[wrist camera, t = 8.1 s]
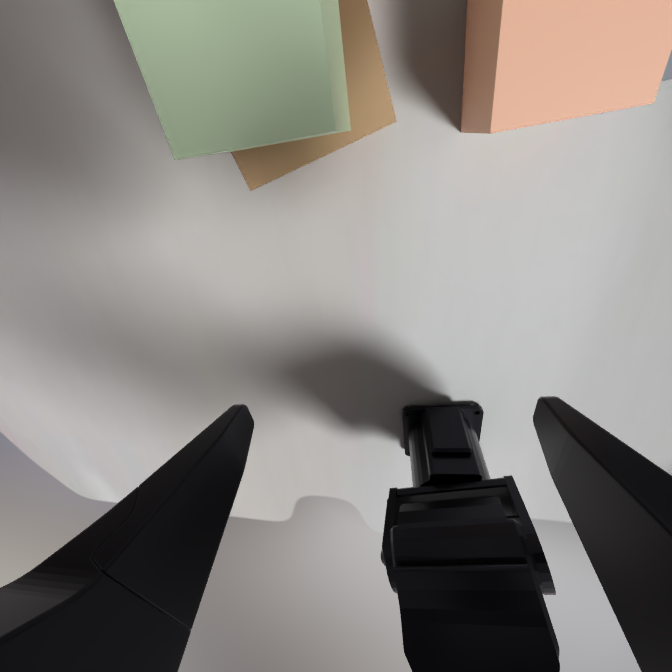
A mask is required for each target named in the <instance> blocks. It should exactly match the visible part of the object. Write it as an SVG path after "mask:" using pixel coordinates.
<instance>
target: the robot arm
mask: <svg viewBox="0 0 672 672" xmlns="http://www.w3.org/2000/svg"><path fill="white" fill-rule="evenodd" d="M407 412H409V413H407ZM402 415H403V430H404V444H405V454H406V455H407V456H410V459H411V470H412V481H413V487H411V488H401V489H397V488H390V491H389V499H388V500H387V508H386V517H385V526H384V534H383V543H382V551H381V560H382V563H383V564H384V565H385V566H386V569H387V575H388V578H389V582H390V585H391V587H392V589H393V591H394V592H395V593H398V599H399V605H400V614H401V623H402V634H403V645H404V653H405V656H406V658H407V660H408V662H409V665H410V667H411V669H412V672H559V671H560V663H559V646H558V642H557V639H556V635H555V633H554V629H553V626H552V623H551V620H550V617H549V614H548V610H547V607H546V604H545V601H544V598H543V595H542V594H545V595H555V594H556V592H555V587H554V584H553V580H552V576H551V573H550V570H549V567H548V564H547V561H546V558H545V555H544V552H543V550H542V547H541V544H540V542H539V539H538V536H537V534H536V531H535V529H534V526H533V524H532V521H531V519H530V517H529V514H528V512H527V510H526V507H525V505H524V503H523V500H522V498H521V496H520V493H519V491H518V489H517V486H516V484H515V481H514V479H513V477H512V475H511V476H504V478H497V479H490V476H489V473H488V470H487V467H486V463H485V460H484V457H483V454H482V451H481V447H480V444H479V439H480V433H481V426H482V419H483V409H482V407H481V406H479V405H459V406H414V407H405V408H403V410H402ZM533 422H534V426H535V429H536V432H537V435H538V438H539V441H540V444H541V447H542V450H543V453H544V456H545V459H546V462H547V465H548V468H549V471H550V474H551V476H552V479H553V481H554V483H555V486H556V488H557V490H558V492H559V494H560V496H561V498H562V501H563V503H564V505H565V507H566V509H567V511H568V514H569V516H570V518H571V520H572V522H573V524H574V527H575V529H576V531H577V533H578V535H579V537H580V540H581V542H582V544H583V546H584V548H585V550H586V552H587V555H588V557H589V559H590V561H591V563H592V565H593V567H594V570H595V572H596V574H597V576H598V578H599V581H600V583H601V585H602V587H603V589H604V591H605V593H606V596H607V598H608V600H609V602H610V604H611V606H612V609H613V611H614V613H615V615H616V617H617V619H618V622H619V624H620V626H621V628H622V630H623V632H624V634H625V637H626V639H627V641H628V643H629V645H630V647H631V649H632V652H633V654H634V656H635V658H636V660H637V663H638V665H639V667H640V669H641V671H642V672H672V476H671V475H670V474H669V473H667V472H666V471H664V470H663V469H661V468H660V467H658V466H657V465H655V464H654V463H653V462H651V461H650V460H648V459H647V458H645V457H644V456H642V455H641V454H639V453H638V452H637V451H635V450H634V449H632V448H631V447H629V446H628V445H626V444H625V443H624V442H622V441H621V440H619V439H618V438H616V437H615V436H613V435H612V434H610V433H609V432H608V431H606V430H605V429H603V428H602V427H600V426H599V425H597V424H596V423H594V422H593V421H592V420H590V419H589V418H587V417H586V416H584V415H583V414H581V413H580V412H579V411H577V410H576V409H574V408H573V407H571V406H570V405H568V404H567V403H565V402H564V401H563V400H561V399H560V398H558V397H554V396H550V397H540V398H539V399H538V401H537V405H536V408H535V412H534V415H533ZM253 429H254V420H253V418H252V416H251V414H250V412H249V410H248V407H247V406H246V405H244V404H242V405H233V406H232V407H230V408H229V409H228V410H227V411H226V412H225V413H223V414H222V415H221V416H220V417H219V418H218V419H216V420H215V421H214V422H213V423H212V424H210V425H209V426H208V427H207V428H206V429H205V430H203V431H202V432H201V433H200V434H199V435H198V436H196V437H195V438H194V439H193V440H192V441H191V442H189V443H188V444H187V445H186V446H185V447H184V448H182V449H181V450H180V451H179V452H178V453H177V454H175V455H174V456H173V457H172V458H171V459H170V460H168V461H167V462H166V463H165V464H164V465H163V466H161V467H160V468H159V469H158V470H157V471H156V472H154V473H153V474H152V475H151V476H150V477H148V478H147V479H146V480H145V481H144V482H143V483H141V484H140V485H139V487H137V488H136V489H134V490H133V491H132V492H131V493H130V494H128V495H127V496H126V497H125V498H124V499H123V500H121V501H120V502H119V503H118V504H117V505H115V506H114V507H113V508H112V509H110V510H109V511H108V512H107V513H106V514H104V515H103V516H102V517H100V518H99V519H98V520H97V521H95V522H94V523H93V524H92V525H90V526H89V527H88V528H86V529H85V530H84V531H82V532H81V533H80V534H79V535H77V536H76V537H75V538H73V539H72V540H71V541H69V542H68V543H67V544H65V545H64V546H63V547H62V548H60V549H59V550H58V551H56V552H55V553H54V554H52V555H51V556H50V557H48V558H47V559H46V560H44V561H43V562H42V563H41V564H39V565H38V566H36V567H35V568H34V569H32V570H31V571H30V572H28V573H26V574H25V575H23V576H22V577H20V578H18V579H17V580H15V581H13V582H11V583H9V584H7V585H5V586H3V587H1V588H0V672H178V669H179V666H180V663H181V660H182V656H183V654H184V651H185V648H186V645H187V642H188V638H189V635H190V632H191V629H192V626H193V623H194V620H195V617H196V614H197V611H198V608H199V605H200V602H201V599H202V596H203V593H204V590H205V587H206V584H207V581H208V578H209V575H210V572H211V569H212V566H213V563H214V560H215V557H216V554H217V550H218V548H219V545H220V542H221V539H222V536H223V533H224V530H225V527H226V524H227V520H228V518H229V515H230V512H231V509H232V506H233V503H234V500H235V497H236V494H237V491H238V488H239V484H240V481H241V478H242V475H243V472H244V469H245V465H246V460H247V456H248V451H249V447H250V442H251V438H252V433H253Z"/></svg>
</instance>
